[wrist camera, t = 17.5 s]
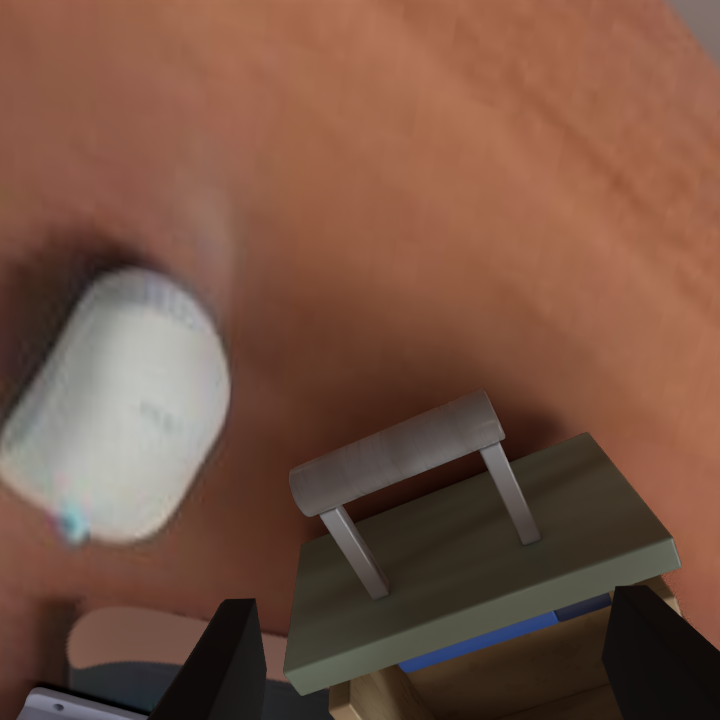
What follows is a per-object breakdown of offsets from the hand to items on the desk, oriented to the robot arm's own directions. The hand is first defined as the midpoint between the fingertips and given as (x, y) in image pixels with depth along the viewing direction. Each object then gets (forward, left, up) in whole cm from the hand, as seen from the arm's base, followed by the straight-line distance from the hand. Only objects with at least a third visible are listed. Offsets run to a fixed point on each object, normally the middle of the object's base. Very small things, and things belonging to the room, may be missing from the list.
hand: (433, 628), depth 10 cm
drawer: (+5, -5, -9) cm, 11 cm away
